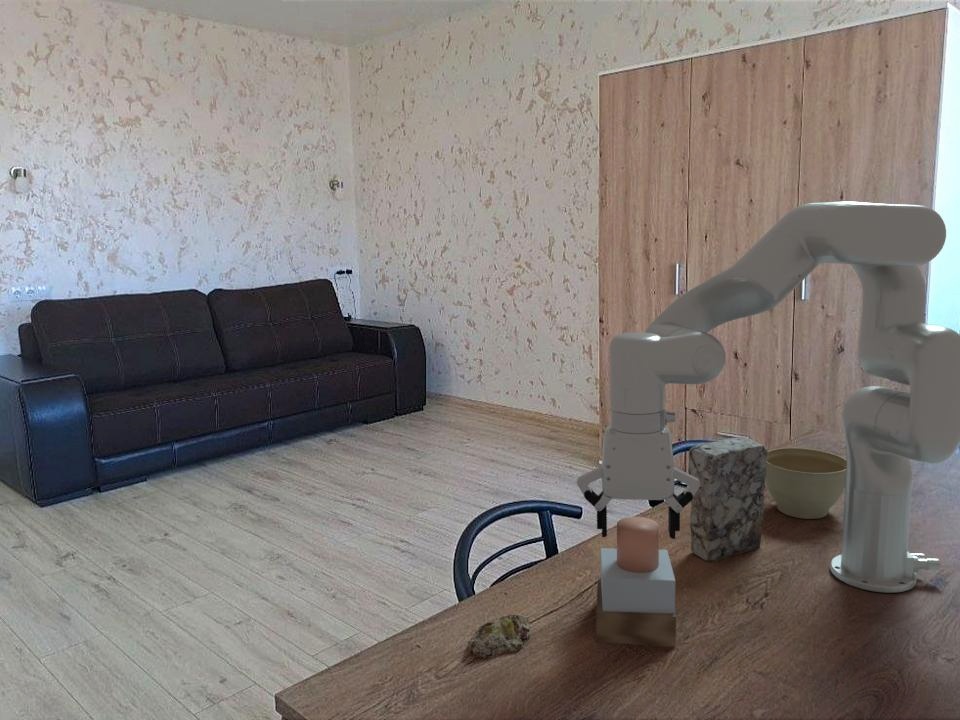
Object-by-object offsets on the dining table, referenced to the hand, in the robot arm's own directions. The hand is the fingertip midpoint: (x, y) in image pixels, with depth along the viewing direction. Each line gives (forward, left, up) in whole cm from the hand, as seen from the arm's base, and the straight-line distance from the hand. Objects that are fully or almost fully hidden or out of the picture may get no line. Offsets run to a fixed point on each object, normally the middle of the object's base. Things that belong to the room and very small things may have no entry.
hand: (637, 534), depth 110 cm
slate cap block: (0, 0, -10) cm, 10 cm away
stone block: (-17, -27, -14) cm, 35 cm away
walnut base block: (0, 0, -15) cm, 15 cm away
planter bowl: (-35, -47, -14) cm, 60 cm away
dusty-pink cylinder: (0, 0, -5) cm, 5 cm away
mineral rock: (+20, +7, -15) cm, 26 cm away
